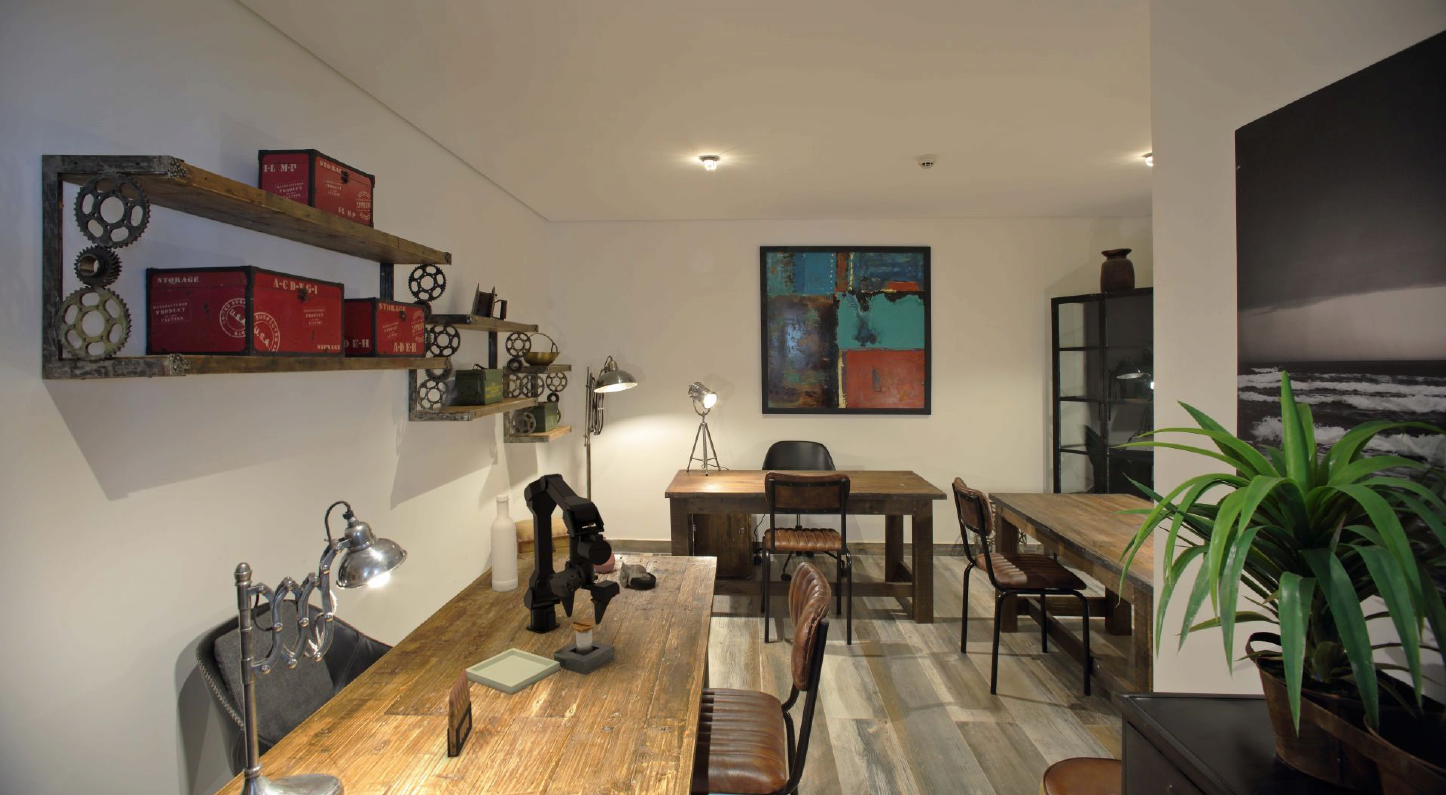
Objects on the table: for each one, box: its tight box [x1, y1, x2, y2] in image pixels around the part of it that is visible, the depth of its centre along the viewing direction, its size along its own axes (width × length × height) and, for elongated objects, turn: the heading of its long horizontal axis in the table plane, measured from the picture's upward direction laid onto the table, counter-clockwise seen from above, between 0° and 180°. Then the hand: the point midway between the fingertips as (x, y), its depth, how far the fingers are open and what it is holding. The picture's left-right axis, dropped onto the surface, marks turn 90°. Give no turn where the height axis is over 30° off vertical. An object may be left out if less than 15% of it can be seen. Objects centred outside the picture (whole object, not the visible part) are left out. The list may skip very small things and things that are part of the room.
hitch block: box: [553, 639, 616, 676], centre depth 160 cm, size 10×10×3 cm
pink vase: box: [594, 536, 616, 574], centre depth 231 cm, size 8×8×12 cm
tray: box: [465, 647, 561, 696], centre depth 154 cm, size 16×14×2 cm
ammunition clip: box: [446, 667, 473, 758], centre depth 126 cm, size 11×2×12 cm, turn 7°
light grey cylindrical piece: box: [572, 618, 595, 656], centre depth 160 cm, size 5×5×10 cm
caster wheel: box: [618, 560, 657, 591], centre depth 215 cm, size 7×11×10 cm
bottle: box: [490, 494, 519, 593], centre depth 215 cm, size 8×8×30 cm
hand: (583, 620), depth 159 cm, fingers open, 9 cm apart
